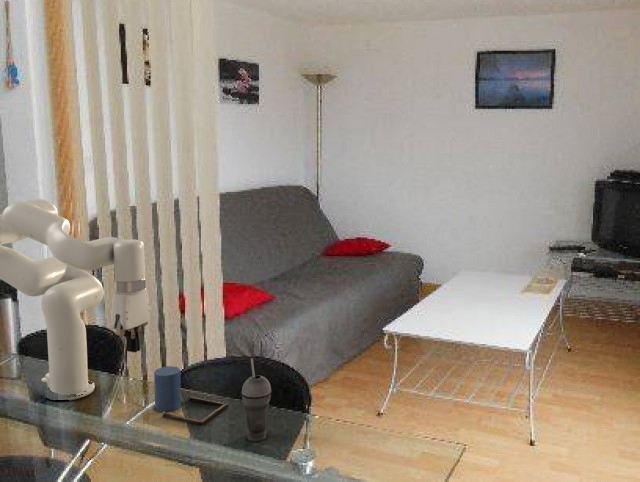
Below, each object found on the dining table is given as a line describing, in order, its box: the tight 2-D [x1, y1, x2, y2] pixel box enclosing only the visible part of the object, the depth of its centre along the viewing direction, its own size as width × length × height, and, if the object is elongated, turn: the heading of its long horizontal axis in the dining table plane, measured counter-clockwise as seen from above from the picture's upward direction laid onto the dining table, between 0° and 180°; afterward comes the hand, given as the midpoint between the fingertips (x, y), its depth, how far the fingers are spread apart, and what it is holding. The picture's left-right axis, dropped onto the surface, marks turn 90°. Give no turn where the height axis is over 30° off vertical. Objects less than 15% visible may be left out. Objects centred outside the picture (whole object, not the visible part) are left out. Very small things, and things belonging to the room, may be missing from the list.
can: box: [153, 365, 182, 412], centre depth 163 cm, size 7×7×10 cm
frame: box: [162, 396, 229, 426], centre depth 161 cm, size 12×12×1 cm
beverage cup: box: [240, 357, 273, 442], centre depth 148 cm, size 7×7×20 cm
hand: (133, 350), depth 166 cm, fingers closed
